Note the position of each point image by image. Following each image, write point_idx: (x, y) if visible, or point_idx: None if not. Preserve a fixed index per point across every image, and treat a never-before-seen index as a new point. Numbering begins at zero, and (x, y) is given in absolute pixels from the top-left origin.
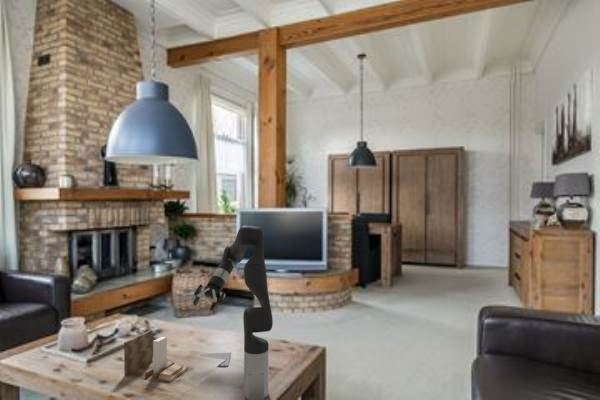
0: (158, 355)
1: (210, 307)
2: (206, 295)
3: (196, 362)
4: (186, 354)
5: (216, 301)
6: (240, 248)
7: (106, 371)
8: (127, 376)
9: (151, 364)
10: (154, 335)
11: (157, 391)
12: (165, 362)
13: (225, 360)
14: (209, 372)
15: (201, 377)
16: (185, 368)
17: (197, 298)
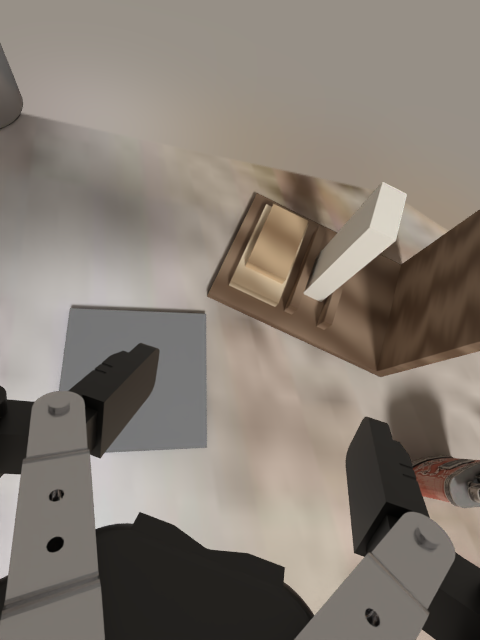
0: (348, 221)
1: (148, 352)
2: (259, 573)
3: (211, 366)
4: (272, 458)
5: (40, 400)
6: None
7: None
8: (398, 263)
9: (368, 341)
10: (473, 486)
11: (284, 183)
12: (316, 275)
13: (81, 358)
14: (147, 271)
15: (172, 239)
16: (237, 267)
17: (389, 483)
